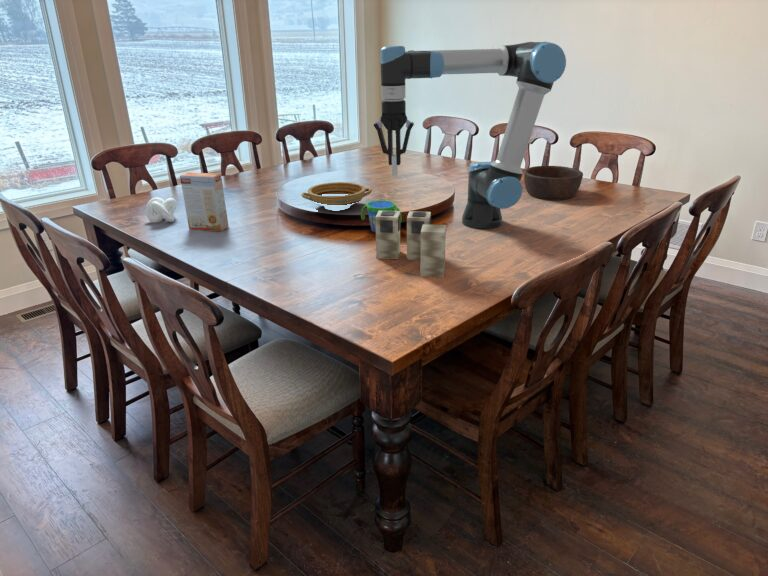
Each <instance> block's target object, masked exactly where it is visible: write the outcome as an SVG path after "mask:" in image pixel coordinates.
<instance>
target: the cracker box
mask: <svg viewBox="0 0 768 576" xmlns="http://www.w3.org/2000/svg"><path fill="white" fill-rule="evenodd" d="M179 177H180V178H179V179H180V185H181V190H182V195H183V202H184V207H185V208H184V209H185V212H186V219H187V225H188V230H195V231H197V230H198V231H211V232H222V231H224V230H226V229H228V228H229V219H228V214H227V213H228V212H227V208H226V207H227V206H226V201H225V200H226V199H225V193H224V191H225V190H224V185H223V179H222V178H223V177H222V173H215V172H214V173H211V172H207V173H206V172H186V173H185V172H184V173H183V174H180V175H179Z"/></svg>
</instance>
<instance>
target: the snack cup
mask: <svg viewBox="0 0 768 576" xmlns="http://www.w3.org/2000/svg"><path fill="white" fill-rule="evenodd" d="M365 209H366V210H367V213H368V218H369V220H368V221H369V224H370V225H369V226H370V230H371V231H372V232H373V233H376V220H375V217H376V215H377V213H378V211H379V210H380V211H400V224H401V223H402V219H403V216H402V213H401V210H400V208H399V207H398V206H396V203H395V202H393V201H390V200H385V199H384V200H380V199H379V200H372V201H368V202H367V203H366V204H365V205H363V206H362V207H361V211H360V218H361V221H364V220H365V219H366V215H365Z"/></svg>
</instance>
